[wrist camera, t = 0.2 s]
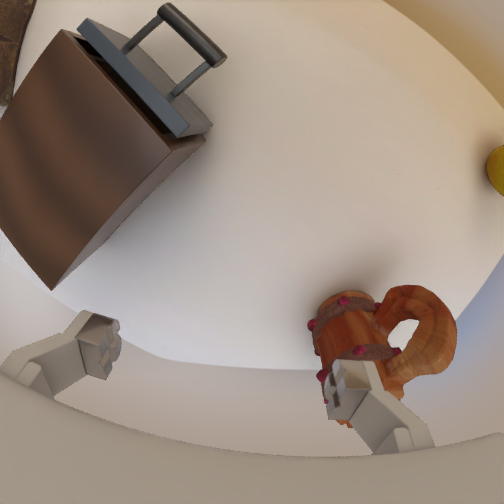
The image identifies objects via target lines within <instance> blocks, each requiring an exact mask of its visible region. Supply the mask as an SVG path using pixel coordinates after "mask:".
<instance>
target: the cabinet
mask: <svg viewBox="0 0 504 504" xmlns="http://www.w3.org/2000/svg"><path fill="white" fill-rule="evenodd" d="M90 55H93V56H96V57H100V58H103V57H102V56H101V55H100V54H99V53H98V52H97V51H96V50H95V49H94V47H93V46H92V45H91V44H90V43H89V42H88V41H87V40H86V39H85V38H84V37H83V36H81V35H79V34H76V33H73V32H70V31H66V30H63V29H61V30H60V31H59V32H58V34H57V35H56V36H55V37H54V38H53V40H52V41H51V42H50V44H49V45H48V46H47V47H46V49H45V50H44V51H43V53H42V54H41V56H40V57H39V58H38V60H37V61H36V63H35V64H34V65H33V67H32V68H31V70H30V71H29V73H28V74H27V76H26V77H25V79H24V80H23V82H22V83H21V85H20V87H19V88H18V90H17V92H16V93H15V95H14V97H13V98H12V100H11V102H10V103H9V105H8V107H7V109H6V111H5V112H4V114H3V116H2V118H1V120H0V228H1V230H2V231H3V232H4V234H5V235H6V236H7V238H8V239H9V241H10V242H11V243H12V244H13V246H14V247H15V248H16V250H17V251H18V252H19V254H20V255H21V256H22V257H23V259H24V260H25V261H26V262H27V263H28V265H29V266H30V267H31V268H32V270H33V271H34V272H35V273H36V274H37V275H38V277H39V278H40V279H41V280H42V281H43V282H44V283H45V285H46V286H47V287H48V288H49V289H50V290H51V291H52V290H53V289H54V288H55V287H56V286H57V285H58V284H59V283H61V282H62V281H63V280H64V279H65V278H66V277H67V276H68V275H69V274H70V273H71V272H72V271H73V270H74V269H76V268H77V267H78V266H79V265H80V264H81V263H82V262H83V261H84V260H86V259H87V258H88V257H89V256H90V255H91V254H92V253H93V252H95V251H96V250H97V249H98V248H99V247H100V246H101V245H103V244H104V242H105V241H106V240H107V239H108V238H109V237H110V236H111V235H112V233H113V232H114V231H115V230H116V229H117V228H118V227H119V226H120V225H121V224H122V222H123V221H124V220H125V219H126V218H127V217H128V216H129V215H130V214H131V213H132V212H133V211H134V210H135V209H136V208H137V207H138V206H139V205H140V204H141V203H142V201H143V200H144V199H145V198H146V197H147V196H148V195H149V194H150V193H151V192H152V191H153V190H154V189H155V188H156V187H157V186H158V185H159V184H160V183H161V182H163V181H164V180H165V179H166V178H167V177H168V176H169V175H170V174H171V173H172V172H173V171H174V170H175V169H176V168H177V167H178V166H179V165H180V164H181V163H182V162H184V161H185V160H186V159H187V158H188V157H189V156H190V155H191V154H192V153H193V152H194V151H196V150H197V149H198V148H199V147H200V146H201V145H202V144H203V143H205V139H204V138H203V137H202V136H201V135H200V134H196V135H190V136H185V137H184V138H179V139H174V140H169V141H168V140H167V139H166V138H165V137H164V136H163V135H162V134H161V132H160V131H159V130H158V129H157V128H156V127H155V126H154V125H153V124H152V122H151V121H150V120H149V119H148V118H147V117H146V116H145V115H144V114H143V112H142V111H141V110H140V109H139V108H138V107H137V106H136V105H135V104H134V103H133V101H132V100H131V99H130V98H129V97H128V96H127V95H126V94H125V93H124V92H123V90H122V89H121V88H120V87H119V86H118V85H117V84H116V83H115V82H114V81H113V80H112V78H111V77H110V76H109V75H108V74H107V73H106V72H105V71H104V70H103V69H102V68H101V66H100V65H99V64H98V63H97V62H96V61H95V60H94V59H93V58H92V57H91V56H90ZM103 59H104V58H103Z"/></svg>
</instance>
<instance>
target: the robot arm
mask: <svg viewBox="0 0 504 504" xmlns="http://www.w3.org/2000/svg"><path fill="white" fill-rule="evenodd" d="M119 330H120V324H119V321H118V320H116V319H113V318H109V317H106V316H103V315H99V314H96V313H92V312H89V311H86V310H83V311H81V312H80V313H79V315H78V316H77V317H76V318H75V319H74V321H73V322H72V323H71V325H69V327H68V328H67V329H66V330H65V332H64V333H63V334H61V333H58V334H56V335H53V336H50V337H48V338H45V339H43V340H40V341H37V342H35V343H32V344H30V345H27V346H25V347H22V348H20V349H17V350H14V351H12V353H11V354H10V355H9V356H8V357H7V359H6V360H5V361H4V362H3V363H2V365H1V366H0V504H504V434H503V433H493V434H490V435H486V436H482V437H479V438H475V439H472V440H467V441H463V442H459V443H454V444H449V445H444V446H439V447H435V445H434V443H433V440H432V437H431V434H430V431H429V429H428V426H427V424H426V423H424V422H423V421H422V420H421V419H420V418H419V417H418V416H416V415H415V414H414V413H413V412H412V411H410V410H409V409H408V408H407V407H406V406H405V405H404V404H402V403H401V402H400V401H399V400H398V399H397V398H395V397H394V396H393V395H392V394H391V393H390V392H388V391H384V388H383V385H382V382H381V379H380V377H379V374H378V371H377V369H376V366H375V363H374V362H373V361H358V360H344V359H336V360H335V361H334V363H333V365H332V369H333V371H332V372H331V373H329V374H328V376H327V378H326V380H325V385H324V395H325V398H326V399H327V400H328V401H329V402H328V404H327V405H326V408H327V414H328V419H331V420H349V423H350V424H351V425H352V426H353V428H354V429H355V430H356V431H357V433H358V434H359V435H360V436H361V438H362V439H363V440H364V441H365V443H366V444H367V445H368V446H369V448H370V449H371V450H372V451H373V453H372V454H371V455H367V456H348V457H347V456H346V457H304V456H283V455H269V454H258V453H249V452H240V451H233V450H226V449H220V448H213V447H208V446H202V445H197V444H192V443H187V442H182V441H178V440H174V439H170V438H165V437H161V436H157V435H154V434H150V433H146V432H143V431H139V430H136V429H132V428H129V427H126V426H123V425H119V424H116V423H113V422H110V421H107V420H105V419H101V418H98V417H96V416H93V415H90V414H88V413H85V412H83V411H80V410H78V409H75V408H73V407H70V406H68V405H66V404H63V403H61V402H59V401H56V400H55V399H54V397H53V396H54V395H56V394H57V393H59V392H61V391H62V390H64V389H66V388H67V387H69V386H70V385H72V384H73V383H75V382H77V381H78V380H80V379H81V378H83V377H85V376H86V374H87V375H90V376H94V377H97V378H100V379H104V380H106V379H107V377H108V375H109V374H110V372H111V370H112V362H114V361H116V360H117V359H118V357H119V355H120V351H121V337H120V335H119V334H118V331H119Z"/></svg>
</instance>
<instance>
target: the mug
mask: <svg viewBox="0 0 504 504" xmlns="http://www.w3.org/2000/svg"><path fill="white" fill-rule="evenodd" d="M407 319H414V320H418V321H420V322H419V324H418V327H417V329H416V330H415V332H414V333H413V336H412V338H411V339H410V340H409V342H408V344H407V346H406V348H405V349H404V350H403V352H402V351H401V349H400V348H399V347H397V348H392V347H390V345H389V343H388V340H387V338H388V335H389V334H390V333H391V331H392V330H393V329H394V328H395V327H396V326H397V325H398V323H399V322H401V321H404V320H407ZM307 326H308V329H309V330H310V331H312V338H313V345H314V348H315V354H316V355H317V356H320V357H321V362H322V368H323V369H322V370H320V371H319V372H318V373H317V375H316V377H317V378H318V380H319V381H320V382H321V386H322V393H323V397H324V403H325V404H328V402H329V401H328V400H327V399H326V398H325V395H324V385H325V380H326V378H327V376H328V374H329V373H331V372H332V371H333V369H332V365H333V363H334V361H335V360H336V359H344V360H358V361H373V362H374V363H375V366H376V369H377V371H378V374H379V377H380V379H381V382H382V385H383V388H384V391H388V392H390V393H391V394H392V395H393V396H394V397H395V398H397V399H398V400H399V401H400V399H401V398H403V396H404V391H403V385H404V384H405V383H407V382H409V381H410V380H412V379H413V378H415V377H417V376H420V375H429V374H438V373H441V372H443V371H444V370H445V369H446V368H447V367H448V366H449V364H450V363H451V361H452V360H453V357H454V353H455V349H456V343H457V328H456V322H455V320H454V318H453V316H452V314H451V312H450V310H449V309H448V308H447V306H446V305H445V304H444V303H443V302H442V301H441V300H440V299H439V298H438V297H437V296H436V295H435V294H434V293H433V292H431V291H429V290H428V289H426V288H424V287H422V286H419V285H403V286H397V287H394V288H391V289H390V290H389V291H388V292H387V294H386V296H385V298H384V300H383V301H382V303H378V302H377V303H375V302H374V300H373V299H372V297H370V296H369V295H367V294H366V293H363V292H359V291H344V292H341V293H339V294H336V295H334V296H332V297H330V298H329V299H327V300H326V301H325V302H324V303H323V304H322V305H321V306H320V308H319V312H318V315H317V316H316V318H315V319H312V320H310V321H308V323H307ZM336 421H337V422H338V423H340V425H343V424H345V423H346V424H347V426H348V428H353V426H352V425H351V424H350V423H349V420H336Z"/></svg>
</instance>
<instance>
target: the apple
mask: <svg viewBox="0 0 504 504" xmlns="http://www.w3.org/2000/svg"><path fill="white" fill-rule="evenodd" d="M486 169H487V173H488V176H489V180H490V182H491V184H492V185H493V186H494V188H495V189H496V190H497V191H498V192H499V193H500V194H501V195H502V196H504V145H502V146H500V147H499V148H497V149H496V150H495V151H494V152H492V153H491V154H490V156H489V158H488V161H487V166H486Z"/></svg>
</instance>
